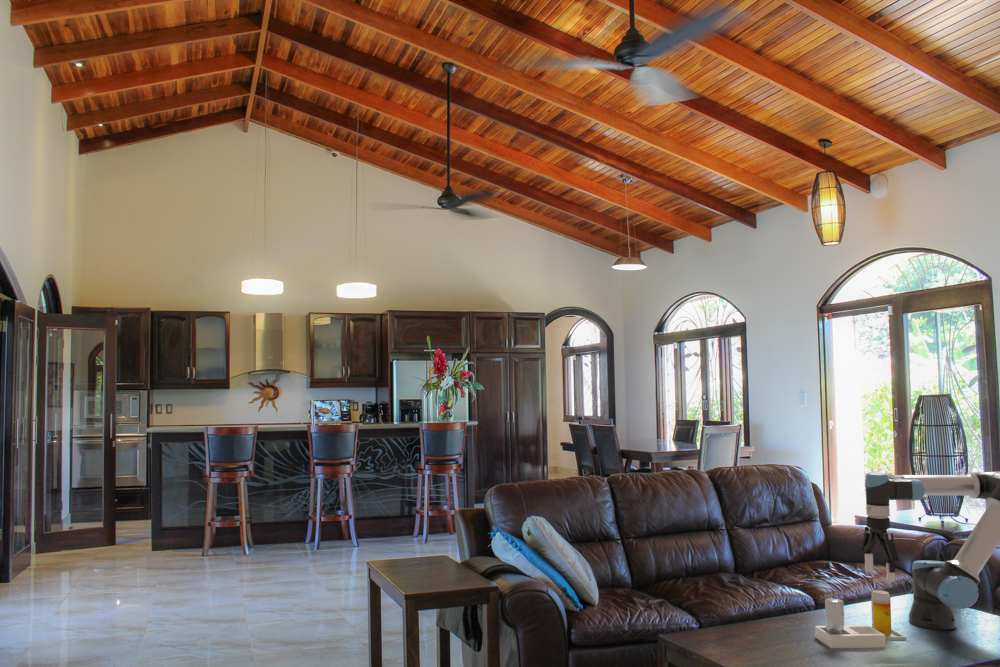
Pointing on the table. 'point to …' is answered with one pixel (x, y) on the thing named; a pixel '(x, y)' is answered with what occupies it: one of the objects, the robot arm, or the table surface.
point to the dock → (852, 637)
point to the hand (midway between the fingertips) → (879, 576)
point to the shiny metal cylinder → (834, 616)
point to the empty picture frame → (901, 637)
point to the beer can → (881, 612)
